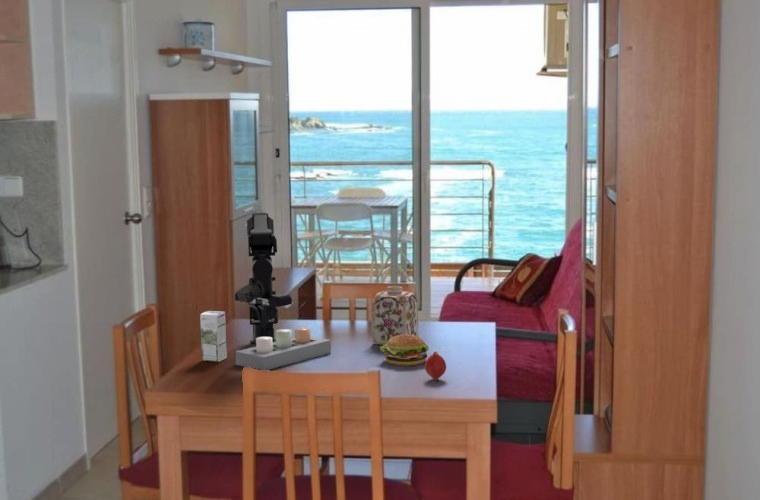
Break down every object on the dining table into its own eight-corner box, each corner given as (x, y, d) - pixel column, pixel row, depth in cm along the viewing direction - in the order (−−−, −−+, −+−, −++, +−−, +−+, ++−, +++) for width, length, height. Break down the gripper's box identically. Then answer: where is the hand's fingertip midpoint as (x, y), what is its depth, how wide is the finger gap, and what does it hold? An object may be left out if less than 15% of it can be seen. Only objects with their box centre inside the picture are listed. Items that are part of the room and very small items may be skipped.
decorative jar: (371, 344, 325) (370, 288, 323) (385, 337, 336) (384, 283, 333) (406, 347, 321) (406, 290, 318) (419, 339, 331) (418, 284, 329)
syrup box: (227, 358, 309) (225, 310, 307) (218, 362, 304) (216, 314, 302) (210, 356, 311) (209, 309, 309) (201, 361, 306) (199, 313, 304)
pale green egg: (272, 352, 307) (272, 331, 306) (284, 349, 310) (283, 328, 310) (284, 354, 304) (283, 333, 303) (295, 351, 307) (295, 330, 306)
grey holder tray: (235, 364, 301) (235, 351, 300) (303, 347, 322) (302, 335, 321) (264, 370, 293) (263, 357, 292) (330, 352, 314) (330, 340, 313)
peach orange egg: (292, 350, 313) (291, 329, 312) (303, 347, 317) (302, 326, 316) (303, 352, 310) (302, 331, 309) (314, 349, 313) (313, 328, 313)
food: (373, 359, 305) (372, 333, 304) (415, 354, 311) (415, 328, 310) (392, 369, 293) (391, 342, 292) (436, 364, 298) (435, 337, 297)
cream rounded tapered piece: (253, 360, 301) (252, 338, 300) (265, 357, 304) (264, 335, 304) (264, 362, 298) (263, 340, 297) (276, 359, 301) (275, 337, 301)
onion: (423, 377, 283) (423, 349, 282) (444, 376, 284) (444, 348, 282) (426, 382, 277) (426, 353, 276) (447, 382, 278) (447, 353, 277)
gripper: (220, 274, 298) (221, 327, 300) (264, 280, 286) (265, 335, 288) (248, 270, 306) (250, 321, 308) (292, 275, 294) (293, 328, 296)
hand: (263, 326), depth 300 cm, fingers closed
